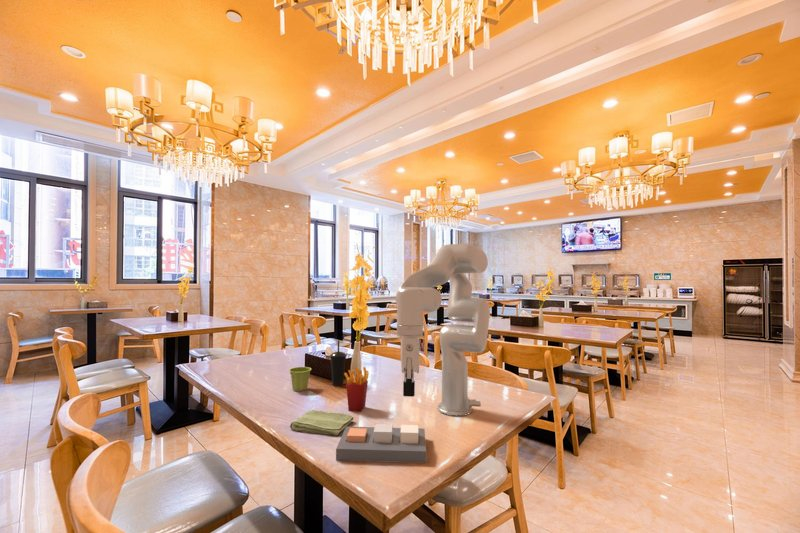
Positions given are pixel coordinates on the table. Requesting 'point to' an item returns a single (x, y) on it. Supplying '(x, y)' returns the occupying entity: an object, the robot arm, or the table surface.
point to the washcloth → (321, 422)
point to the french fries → (357, 389)
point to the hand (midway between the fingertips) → (408, 395)
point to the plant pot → (300, 378)
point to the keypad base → (382, 448)
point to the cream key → (409, 434)
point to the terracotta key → (357, 435)
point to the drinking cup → (338, 367)
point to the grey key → (383, 433)
